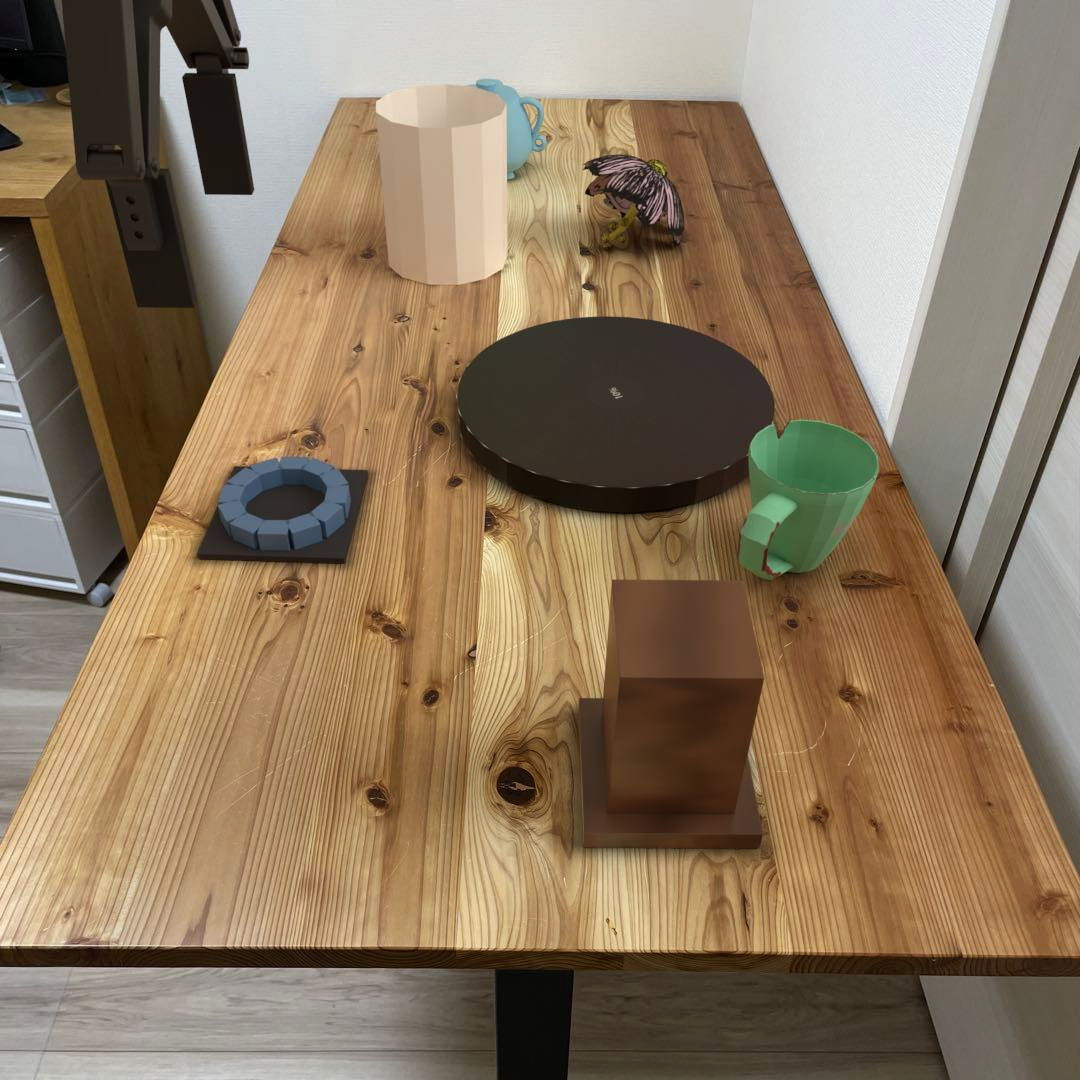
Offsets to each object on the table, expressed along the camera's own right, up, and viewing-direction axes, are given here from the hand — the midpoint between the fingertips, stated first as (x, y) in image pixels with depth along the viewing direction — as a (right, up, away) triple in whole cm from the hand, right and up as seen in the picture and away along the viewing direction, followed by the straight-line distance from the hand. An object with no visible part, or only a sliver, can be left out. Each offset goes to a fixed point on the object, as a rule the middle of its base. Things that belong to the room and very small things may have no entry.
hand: (201, 243), depth 57 cm
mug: (+38, -18, +30) cm, 51 cm away
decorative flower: (+30, +22, +77) cm, 85 cm away
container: (+7, +18, +73) cm, 75 cm away
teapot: (+11, +37, +95) cm, 103 cm away
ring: (-4, -13, +34) cm, 37 cm away
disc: (+25, -4, +47) cm, 53 cm away
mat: (-4, -14, +34) cm, 37 cm away
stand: (+26, -31, +14) cm, 43 cm away
